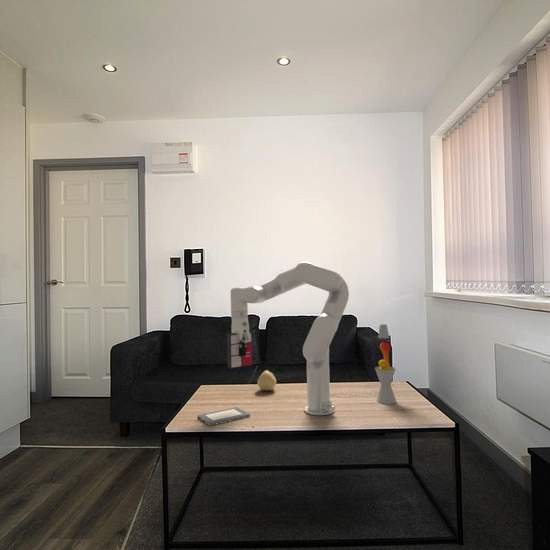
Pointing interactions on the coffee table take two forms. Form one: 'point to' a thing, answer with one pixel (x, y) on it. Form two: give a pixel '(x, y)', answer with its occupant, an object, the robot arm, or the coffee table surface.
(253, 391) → the coffee table surface
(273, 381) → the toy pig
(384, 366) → the lava lamp
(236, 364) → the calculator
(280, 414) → the coffee table surface
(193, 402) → the coffee table surface
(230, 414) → the slate picture frame
